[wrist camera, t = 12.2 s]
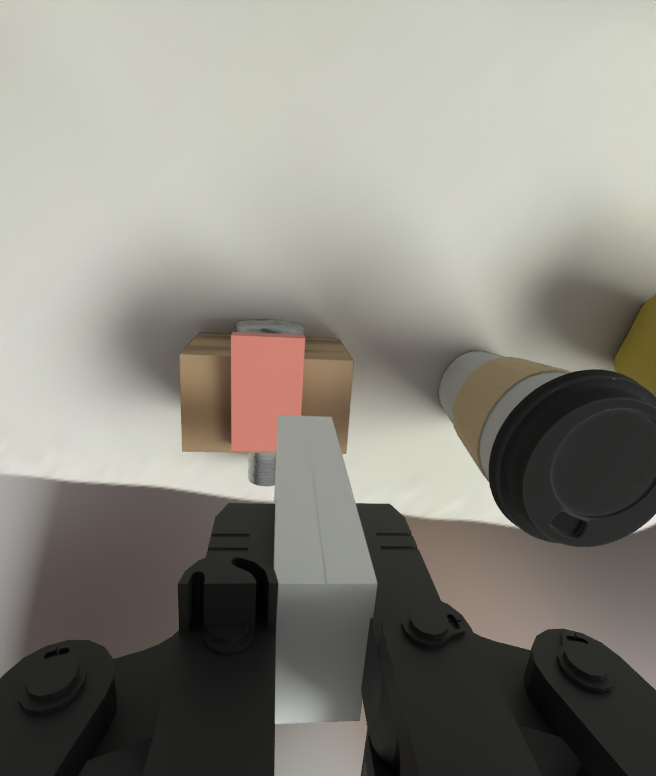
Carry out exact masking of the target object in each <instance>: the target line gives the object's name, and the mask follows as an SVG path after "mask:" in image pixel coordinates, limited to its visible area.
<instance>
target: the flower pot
mask: <svg viewBox="0 0 656 776" xmlns="http://www.w3.org/2000/svg"><path fill="white" fill-rule="evenodd" d="M614 365H615V370H616V372H617V373H620V374H623V375H625V376H627V377H629V378H631V379H633V380H635V381H636V382H638V383H639V384H640V385H642V386H643V387H645V388H646V389H648V390H649V391H650V392H651V393H653V394H654V395H655V396H656V295H655V296H654V297H652V298H651V299H650V300H648V301H647V302H646V303H645V304H644V305H643V306H642V308H641V310H640V312H639V313H638V315H637V317H636V319H635V321H634V323H633V325H632V327H631V329H630V331H629V333H628V334H627V336H626V338H625V340H624V342H623V344H622V345H621V347H620V349H619V351H618V353H617V354H616V356H615V359H614Z"/></svg>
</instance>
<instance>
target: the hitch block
mask: <svg viewBox="0 0 656 776" xmlns="http://www.w3.org/2000/svg"><path fill="white" fill-rule="evenodd" d="M179 358H180V391H181V424H182V452H250V453H276V452H269V451H231V334H219V333H199V334H198V335H197V336H196V337H195V338H194V339H193V340H192V341H191V343H190V344H189V345H188V346H187V347H186V348H185V349H184V350H183V351H182V352H181V353H180V354H179ZM353 362H354V361H353V359H352V358H351V356H350V355H349V353H348V352H347V350H346V348H345V347H344V345H343V344H342V342H341V341H340V339H336V338H313V337H305V352H304V371H303V390H302V409H301V416H320V417H332V420H333V423H334V427H335V431H336V434H337V438H338V441H339V445H340V449H341V452H342V454H346V450H347V437H348V425H349V412H350V400H351V387H352V374H353Z"/></svg>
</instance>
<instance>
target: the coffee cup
mask: <svg viewBox="0 0 656 776" xmlns="http://www.w3.org/2000/svg"><path fill="white" fill-rule="evenodd" d="M439 399H440V403H441V405H442V407H443V409H444V411H445V412H446V414H447V415H448V417H449V418H450V420H451V422H452V423H453V425H454V428H455V430H456V433H457V435H458V436H459V438H460V440H461V441H462V443H463V444H464V446H465V447H466V449H467V450H468V452H469V454H470V455H471V457H472V458H473V460H474V461H475V463H476V465H477V466H478V468H479V469H480V471H481V472H482V474H483V475H484V477H485V478H486V479H487V480H488V481H489V483H490V488H491V492H492V495H493V497H494V500H495V502H496V504H497V506H498V507H499V509H500V510H501V512H502V513H503V514H504V515H505V516H506V517H507V518H508V519H509V520H510V521H511V522H512V523H513V524H515V525H516V526H518V527H519V528H521V529H522V530H523V531H525V532H526V533H528V534H530V535H531V536H533V537H536V538H538V539H541V540H544V541H548V542H553V543H561V544H565V545H569V546H575V547H593V546H600V545H604V544H608V543H611V542H614V541H617V540H619V539H622V538H624V537H626V536H628V535H629V534H631V533H633V532H635V531H636V530H638V529H639V528H640V527H642V526H643V525H644V524H646V523H647V522H648V521H649V520H650V519H651V518H652V517H653V516H654V515H655V514H656V396H655V395H654V394H653V393H651V392H650V391H649V390H648V389H646V388H645V387H643V386H642V385H640V384H639V383H638V382H636V381H635V380H633V379H631V378H629V377H627V376H625V375H623V374H620V373H617V372H612V371H607V370H583V371H576V372H570V371H566V370H563V369H559V368H555V367H551V366H547V365H543V364H539V363H535V362H532V361H528V360H524V359H520V358H513V357H504V356H500V355H496V354H492V353H488V352H482V351H473V352H468V353H465V354H463V355H461V356H459V357H458V358H457V359H455V360H454V361H453V362H452V363H451V364H450V365H449V367H448V368H447V369H446V371H445V373H444V374H443V377H442V379H441V382H440V386H439Z"/></svg>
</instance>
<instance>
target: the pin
mask: <svg viewBox="0 0 656 776" xmlns="http://www.w3.org/2000/svg"><path fill="white" fill-rule="evenodd" d="M303 328H304V326H303V325H301V324H298V323H294V322H288V321H279V320H246V321H240V322H238V323H237V327H236V332H249V333H272V334H295V335H303ZM275 471H276V453H250V452H249V466H248V479H249V481H250V482H251V483H253V484H255V485H259V486H273V485H275Z"/></svg>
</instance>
